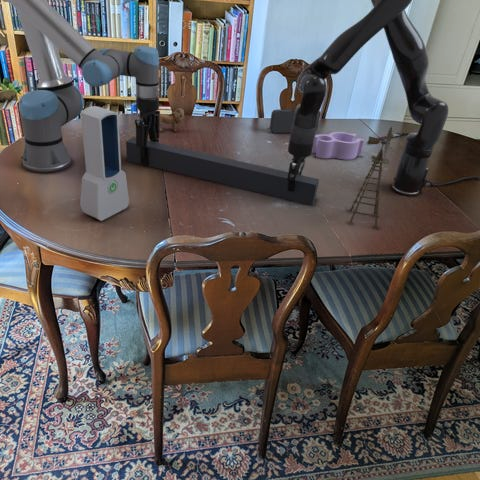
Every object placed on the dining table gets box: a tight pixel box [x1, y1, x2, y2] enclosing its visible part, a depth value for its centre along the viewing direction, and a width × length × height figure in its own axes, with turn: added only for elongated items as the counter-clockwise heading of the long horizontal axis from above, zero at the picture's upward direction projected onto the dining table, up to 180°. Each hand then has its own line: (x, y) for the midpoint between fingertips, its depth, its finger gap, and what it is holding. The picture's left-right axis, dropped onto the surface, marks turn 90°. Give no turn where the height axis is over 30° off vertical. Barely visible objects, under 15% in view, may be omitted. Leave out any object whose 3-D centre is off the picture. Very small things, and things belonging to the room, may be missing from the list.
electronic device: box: [79, 105, 130, 222], centre depth 129 cm, size 12×8×30 cm, turn 148°
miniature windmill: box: [349, 126, 393, 228], centre depth 139 cm, size 9×8×30 cm
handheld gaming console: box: [269, 108, 322, 134], centre depth 207 cm, size 23×3×10 cm, turn 108°
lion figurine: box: [159, 107, 185, 133], centre depth 195 cm, size 15×5×9 cm, turn 110°
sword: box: [376, 132, 410, 141], centre depth 214 cm, size 31×3×1 cm, turn 126°
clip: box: [312, 131, 366, 161], centre depth 190 cm, size 20×12×7 cm, turn 109°
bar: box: [125, 136, 320, 206], centre depth 160 cm, size 68×5×7 cm, turn 71°
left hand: (148, 161), depth 168 cm, fingers closed on bar, 5 cm apart
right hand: (293, 185), depth 154 cm, fingers open, 8 cm apart
